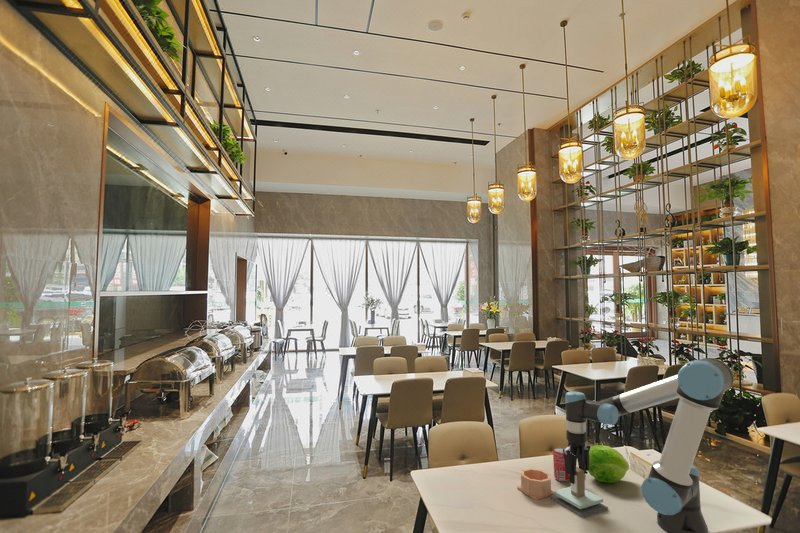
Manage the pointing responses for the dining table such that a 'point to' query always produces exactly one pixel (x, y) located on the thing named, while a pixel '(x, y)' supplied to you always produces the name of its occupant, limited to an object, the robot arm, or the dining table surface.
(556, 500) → the mat
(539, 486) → the bowl
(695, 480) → the robot arm
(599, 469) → the lettuce
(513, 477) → the dining table surface
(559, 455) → the soda can
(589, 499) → the lid
